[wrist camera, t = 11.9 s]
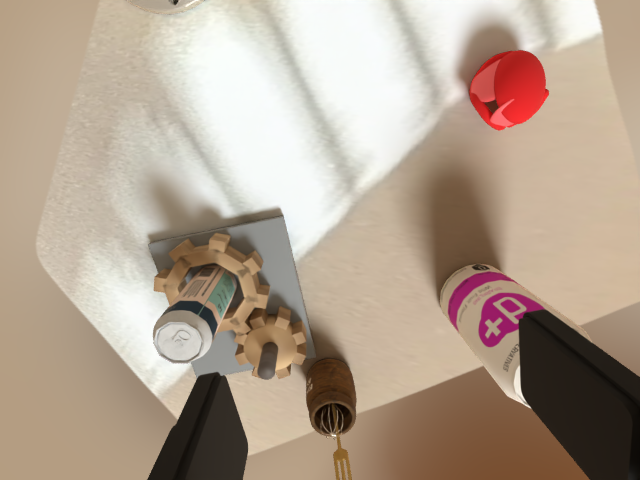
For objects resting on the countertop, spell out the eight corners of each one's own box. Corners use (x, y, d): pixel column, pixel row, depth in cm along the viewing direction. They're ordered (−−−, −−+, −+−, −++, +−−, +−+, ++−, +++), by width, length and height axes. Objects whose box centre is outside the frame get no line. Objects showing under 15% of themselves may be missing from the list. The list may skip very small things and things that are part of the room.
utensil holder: (345, 351, 43) (359, 428, 32) (357, 391, 45) (374, 478, 34) (300, 362, 44) (298, 443, 32) (314, 401, 45) (316, 491, 34)
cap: (509, 153, 34) (576, 109, 30) (473, 121, 31) (542, 68, 27) (487, 105, 38) (542, 62, 34) (454, 74, 35) (510, 23, 32)
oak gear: (150, 246, 37) (139, 253, 35) (254, 224, 37) (250, 231, 35) (183, 337, 41) (175, 349, 38) (278, 318, 40) (277, 329, 38)
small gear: (226, 319, 40) (211, 353, 34) (291, 295, 40) (287, 325, 33) (255, 374, 43) (246, 414, 36) (316, 352, 42) (318, 390, 36)
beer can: (187, 286, 39) (136, 348, 27) (210, 254, 38) (167, 305, 26) (222, 309, 40) (188, 378, 28) (246, 279, 39) (220, 338, 27)
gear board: (152, 242, 38) (148, 244, 37) (283, 215, 38) (282, 217, 37) (199, 374, 44) (197, 380, 43) (315, 352, 43) (316, 357, 42)
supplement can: (426, 283, 41) (490, 362, 27) (490, 249, 40) (592, 312, 26) (453, 334, 43) (526, 433, 29) (515, 303, 42) (622, 389, 28)
